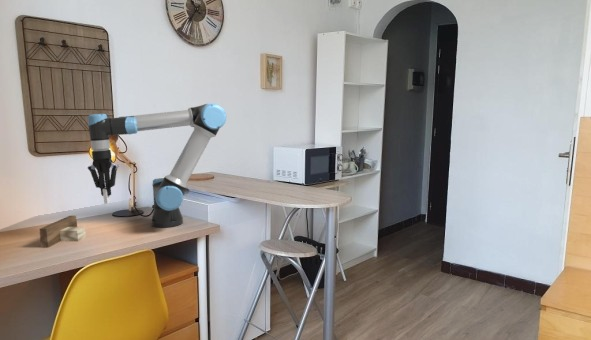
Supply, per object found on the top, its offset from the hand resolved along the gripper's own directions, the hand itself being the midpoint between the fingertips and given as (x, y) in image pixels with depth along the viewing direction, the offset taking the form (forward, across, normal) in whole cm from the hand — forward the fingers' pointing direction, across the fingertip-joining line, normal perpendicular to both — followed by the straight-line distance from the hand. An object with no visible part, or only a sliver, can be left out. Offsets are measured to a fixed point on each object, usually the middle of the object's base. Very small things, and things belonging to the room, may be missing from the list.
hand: (107, 202), depth 191 cm
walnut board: (+15, +21, +4) cm, 26 cm away
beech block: (+15, +16, +3) cm, 22 cm away
